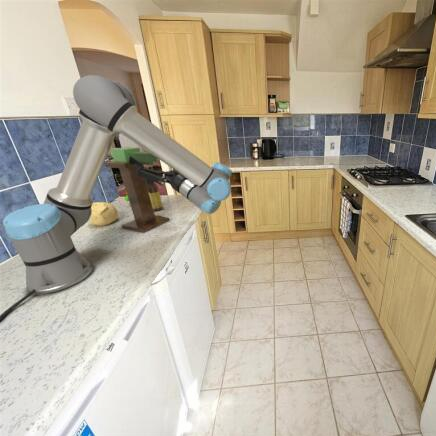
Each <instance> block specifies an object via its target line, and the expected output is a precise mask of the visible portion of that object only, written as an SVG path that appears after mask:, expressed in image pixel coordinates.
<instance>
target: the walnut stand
mask: <svg viewBox="0 0 436 436" xmlns="http://www.w3.org/2000/svg"><path fill="white" fill-rule="evenodd" d="M140 163H141V164H142V165H144V166H146V165H150V164H151V165H152V163H144V162H140ZM104 164H105V167H106V168H112V169H113V168H114V169H119V173H120V176H121V180H122V182H123V185H124V188H125V193H126V192H127V194H126V196H127V195H128V199H129V201H128V202H129V205H130V209H131V211H132V214H133V218H134V220H131V221H128V222H126V223H123V224H122V225H121V227H122V229H126V230H130V231H135V232H141V233H146V232H148V231H150V230H152V229H155V228H157V227H159V226H161V225H163V224H165V223H167V222H169V221H170V217H167V216H163V215H162V216H161V215H156V214H155V211H153V207H152V203H151V200H150V196H149V192H148V188H147V185H146V181H145V178H142V177H139V176H137V170H136V169H135V168H134V167H133V165H131V164H130V163H129V162H115V161H114V160H110V161H105V162H104Z"/></svg>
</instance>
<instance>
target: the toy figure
mask: <svg viewBox="0 0 436 436" xmlns="http://www.w3.org/2000/svg"><path fill="white" fill-rule="evenodd" d="M110 155H111V157H112V159H113V161H115V162H129V159H130V157H133V158H134V159H136V160H137V161H138V162H144V163H151V164H152V163H156V162H158V158H157V157H155V156H154V155H152V154H151V153H149V152H148V151H141V148H140V147H132V146H131V147H130V146H125V147H115V148H114V147H113V148H110Z"/></svg>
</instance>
